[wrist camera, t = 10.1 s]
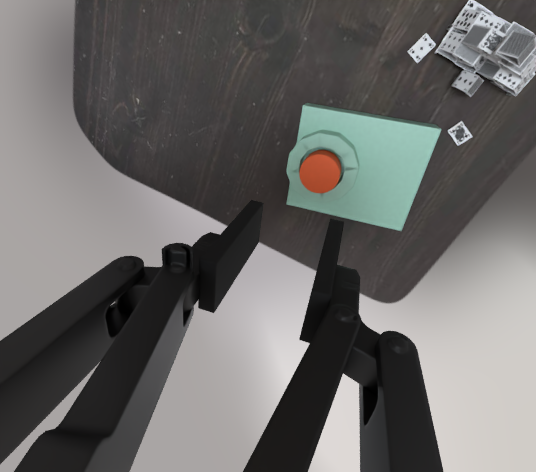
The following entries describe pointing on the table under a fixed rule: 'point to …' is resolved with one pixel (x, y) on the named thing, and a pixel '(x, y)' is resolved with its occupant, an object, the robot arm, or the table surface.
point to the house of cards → (484, 54)
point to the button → (320, 171)
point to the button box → (363, 163)
